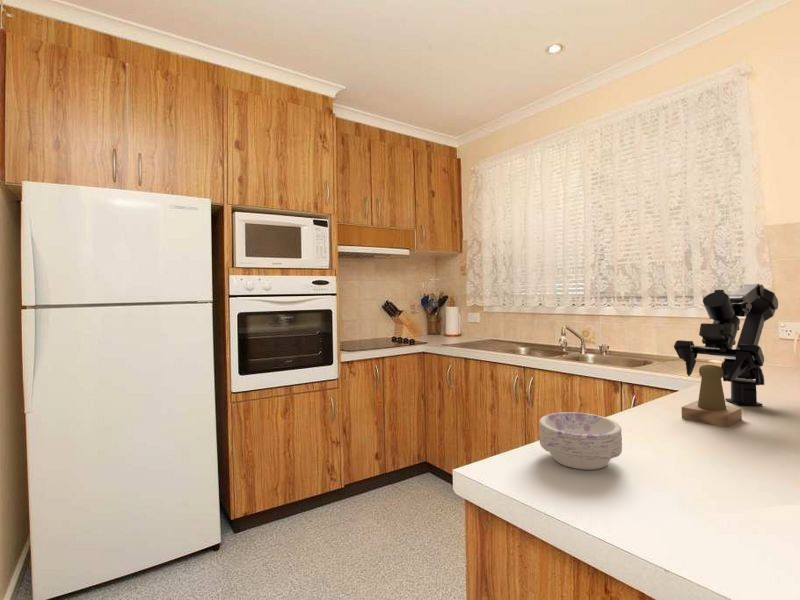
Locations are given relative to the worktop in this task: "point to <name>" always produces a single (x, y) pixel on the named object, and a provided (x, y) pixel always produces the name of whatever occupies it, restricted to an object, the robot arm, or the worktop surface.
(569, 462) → the paper bowls
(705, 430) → the worktop surface
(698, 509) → the worktop surface
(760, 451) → the worktop surface
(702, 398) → the cork
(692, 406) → the base block
